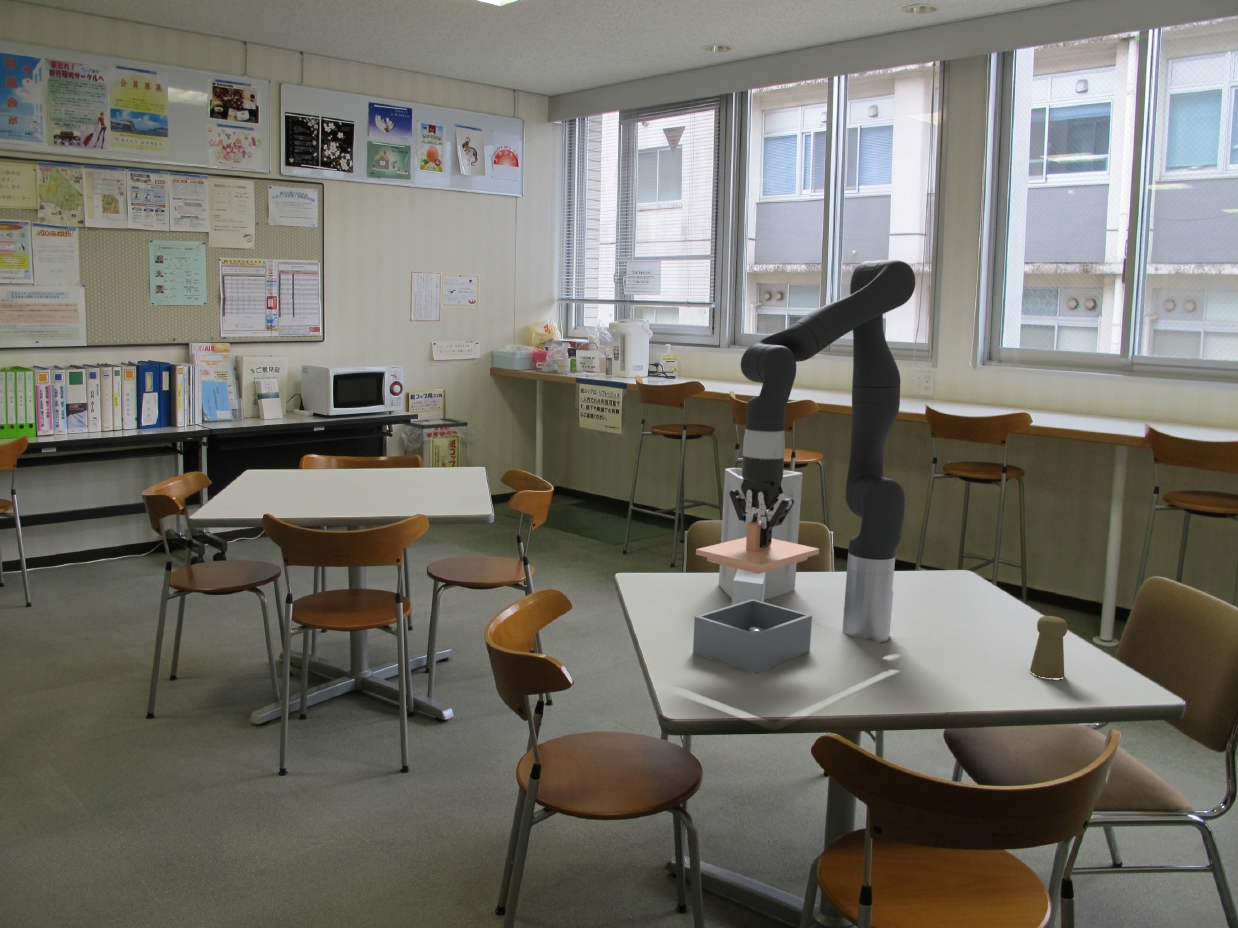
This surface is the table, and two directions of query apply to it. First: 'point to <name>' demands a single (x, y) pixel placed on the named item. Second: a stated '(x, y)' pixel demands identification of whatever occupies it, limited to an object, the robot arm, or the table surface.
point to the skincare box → (748, 586)
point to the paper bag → (787, 531)
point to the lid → (756, 552)
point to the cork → (1049, 648)
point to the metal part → (755, 629)
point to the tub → (752, 635)
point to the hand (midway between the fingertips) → (758, 545)
